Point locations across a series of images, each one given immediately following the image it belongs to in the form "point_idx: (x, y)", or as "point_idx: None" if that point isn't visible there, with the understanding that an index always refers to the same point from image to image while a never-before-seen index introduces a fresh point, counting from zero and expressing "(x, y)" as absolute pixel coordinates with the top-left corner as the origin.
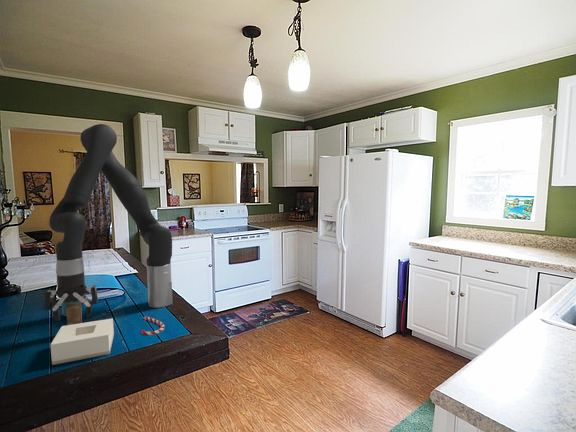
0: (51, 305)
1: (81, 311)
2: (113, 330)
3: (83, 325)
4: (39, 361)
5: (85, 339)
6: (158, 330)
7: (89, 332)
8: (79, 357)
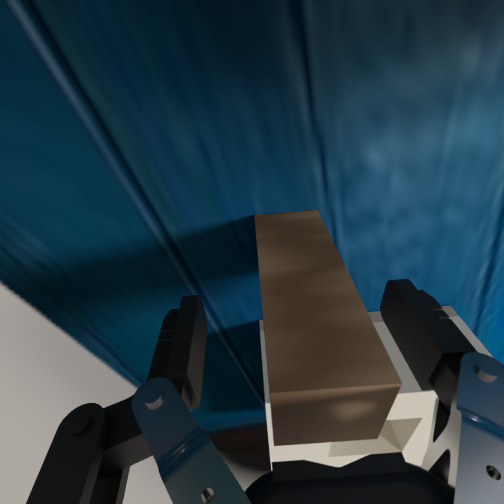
0: (120, 457)
1: (358, 297)
2: (465, 330)
3: None
4: (223, 384)
5: None
6: None
7: None
8: None
